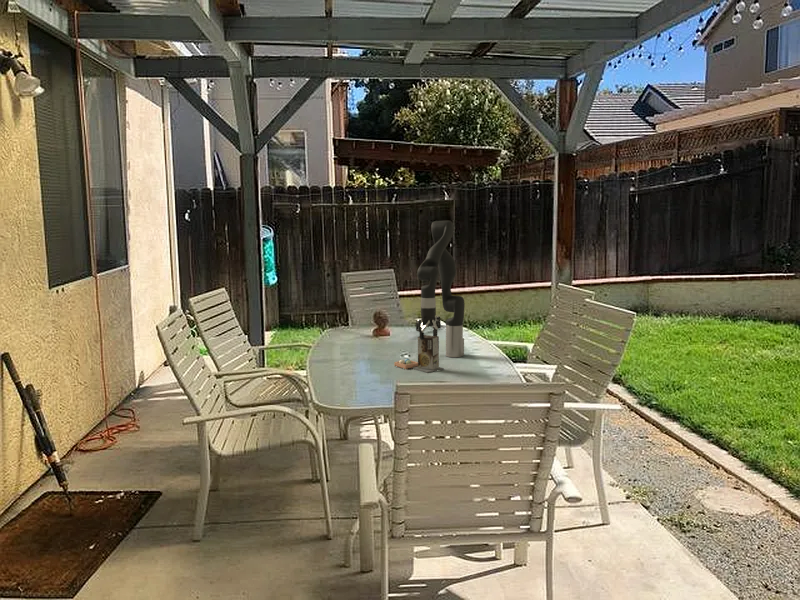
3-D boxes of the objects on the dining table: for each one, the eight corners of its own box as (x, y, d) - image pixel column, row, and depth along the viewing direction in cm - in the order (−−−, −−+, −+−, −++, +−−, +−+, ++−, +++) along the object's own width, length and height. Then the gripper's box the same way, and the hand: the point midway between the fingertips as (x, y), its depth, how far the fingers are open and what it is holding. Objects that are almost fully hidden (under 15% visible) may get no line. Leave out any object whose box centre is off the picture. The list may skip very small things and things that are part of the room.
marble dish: (408, 363, 358) (408, 359, 358) (419, 366, 351) (419, 362, 350) (394, 366, 352) (394, 362, 352) (405, 369, 345) (405, 365, 345)
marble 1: (402, 364, 354) (402, 358, 353) (406, 365, 351) (406, 359, 351) (397, 365, 352) (397, 359, 352) (401, 366, 350) (401, 360, 349)
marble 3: (409, 365, 352) (409, 359, 352) (412, 366, 350) (412, 360, 350) (404, 365, 350) (404, 360, 350) (408, 367, 348) (408, 361, 348)
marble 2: (407, 363, 356) (407, 357, 356) (411, 364, 354) (411, 358, 353) (403, 364, 354) (403, 358, 354) (406, 365, 352) (406, 359, 351)
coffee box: (439, 367, 346) (439, 336, 344) (433, 370, 341) (433, 338, 339) (423, 365, 351) (423, 334, 349) (417, 368, 346) (417, 336, 344)
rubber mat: (428, 365, 354) (428, 364, 354) (444, 369, 345) (444, 368, 345) (412, 368, 347) (412, 367, 347) (427, 372, 338) (427, 371, 338)
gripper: (434, 304, 349) (434, 335, 351) (412, 307, 340) (412, 339, 342) (443, 305, 343) (444, 337, 345) (422, 308, 334) (422, 341, 337)
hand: (428, 338), depth 344 cm, fingers open, 8 cm apart
